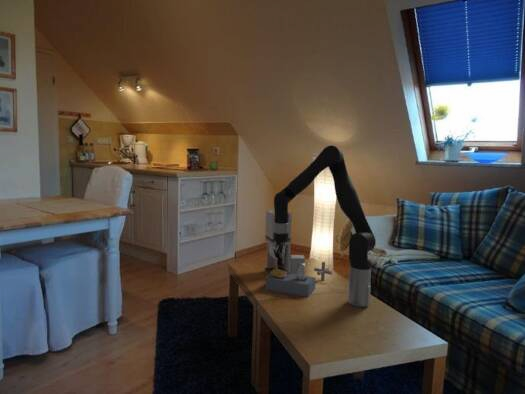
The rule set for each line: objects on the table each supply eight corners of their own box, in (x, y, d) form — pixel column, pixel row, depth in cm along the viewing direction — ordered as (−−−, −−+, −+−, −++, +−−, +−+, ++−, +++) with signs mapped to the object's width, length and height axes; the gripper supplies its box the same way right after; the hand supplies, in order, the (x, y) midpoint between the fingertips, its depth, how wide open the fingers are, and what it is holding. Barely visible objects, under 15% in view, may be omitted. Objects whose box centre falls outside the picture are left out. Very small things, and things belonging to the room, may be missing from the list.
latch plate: (289, 274, 203) (289, 272, 203) (283, 279, 195) (283, 277, 195) (275, 269, 205) (276, 267, 205) (269, 274, 198) (269, 272, 198)
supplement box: (304, 281, 210) (305, 258, 209) (290, 281, 211) (290, 258, 209) (302, 277, 218) (303, 254, 216) (289, 277, 218) (290, 254, 216)
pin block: (315, 289, 200) (315, 277, 199) (308, 297, 189) (308, 284, 188) (274, 282, 208) (274, 271, 208) (265, 289, 198) (265, 277, 197)
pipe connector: (326, 284, 207) (327, 266, 206) (309, 280, 213) (310, 262, 212) (335, 280, 215) (336, 262, 214) (319, 276, 221) (319, 258, 219)
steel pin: (305, 290, 198) (306, 262, 196) (302, 292, 194) (304, 265, 193) (297, 289, 199) (298, 261, 198) (295, 291, 196) (296, 263, 194)
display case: (264, 271, 227) (266, 210, 222) (282, 270, 230) (284, 210, 226) (270, 277, 216) (272, 213, 212) (289, 276, 219) (291, 213, 215)
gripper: (278, 228, 205) (277, 260, 207) (269, 233, 193) (267, 267, 195) (292, 229, 202) (291, 263, 204) (283, 234, 190) (282, 270, 192)
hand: (279, 265), depth 200 cm, fingers closed
